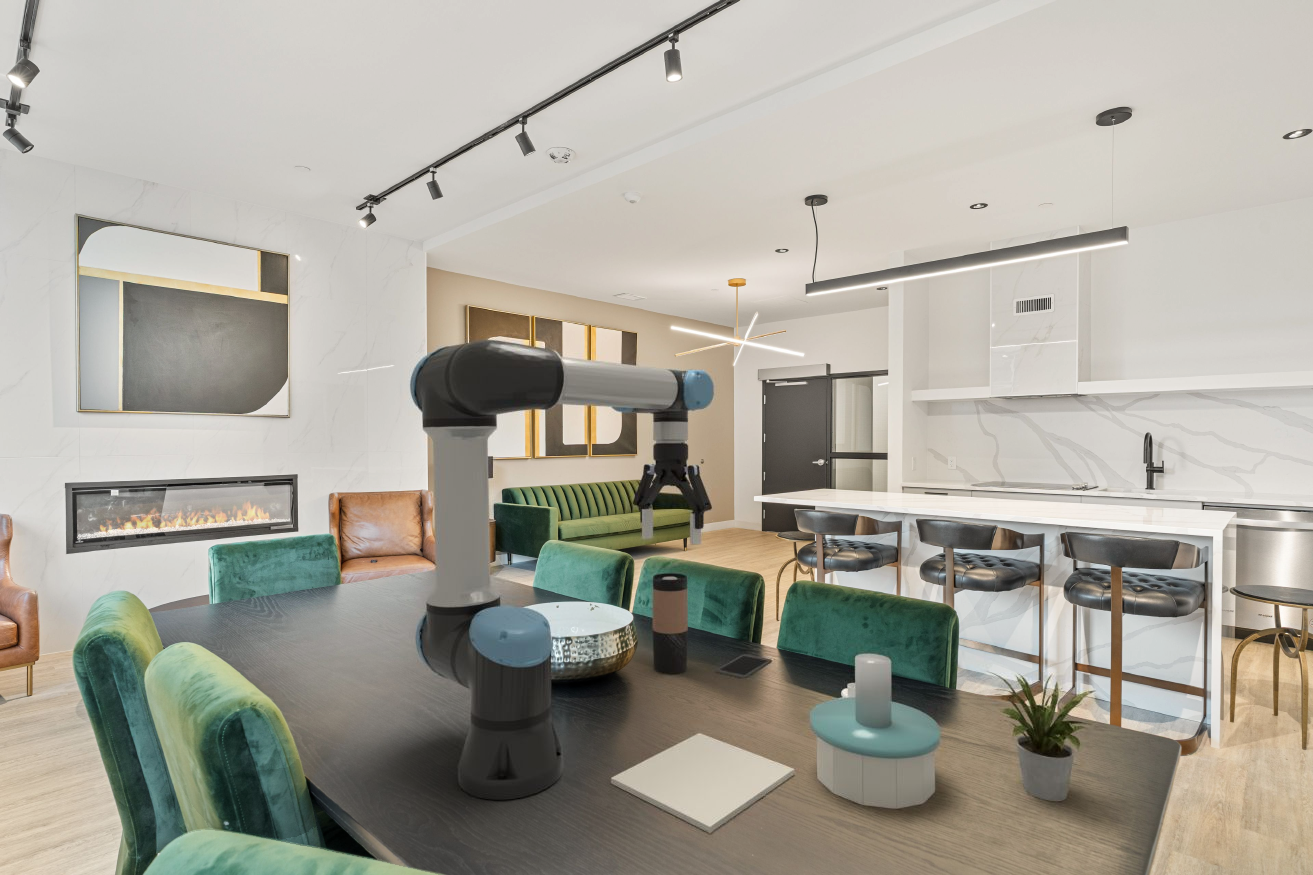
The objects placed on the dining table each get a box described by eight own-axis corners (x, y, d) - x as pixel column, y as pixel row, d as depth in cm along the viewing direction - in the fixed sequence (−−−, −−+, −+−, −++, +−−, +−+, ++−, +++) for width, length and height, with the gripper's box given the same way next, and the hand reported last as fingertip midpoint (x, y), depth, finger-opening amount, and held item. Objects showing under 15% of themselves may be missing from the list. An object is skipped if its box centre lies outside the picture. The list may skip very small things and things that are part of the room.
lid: (910, 772, 84) (909, 691, 84) (786, 730, 96) (786, 660, 96) (959, 727, 97) (958, 657, 97) (845, 695, 109) (844, 634, 109)
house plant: (962, 788, 93) (961, 672, 93) (996, 755, 103) (995, 650, 103) (1079, 830, 83) (1078, 699, 83) (1105, 789, 93) (1104, 672, 93)
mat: (710, 833, 83) (710, 826, 83) (611, 783, 95) (611, 777, 95) (794, 774, 97) (794, 768, 97) (699, 737, 109) (699, 732, 109)
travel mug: (688, 663, 147) (688, 573, 147) (687, 675, 139) (686, 580, 139) (654, 662, 147) (654, 572, 148) (650, 674, 140) (650, 579, 140)
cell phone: (773, 662, 148) (773, 659, 148) (744, 681, 137) (744, 677, 137) (743, 656, 152) (743, 653, 152) (713, 674, 141) (713, 670, 141)
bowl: (905, 821, 85) (905, 766, 85) (796, 779, 96) (796, 730, 96) (950, 775, 97) (949, 727, 97) (848, 742, 107) (848, 699, 108)
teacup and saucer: (841, 695, 129) (841, 674, 129) (883, 703, 125) (883, 681, 125) (828, 710, 121) (828, 688, 121) (872, 719, 117) (872, 696, 117)
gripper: (728, 442, 136) (728, 545, 136) (640, 442, 153) (640, 534, 153) (706, 441, 131) (706, 549, 130) (617, 442, 147) (617, 537, 147)
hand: (670, 541), depth 141 cm, fingers open, 13 cm apart
